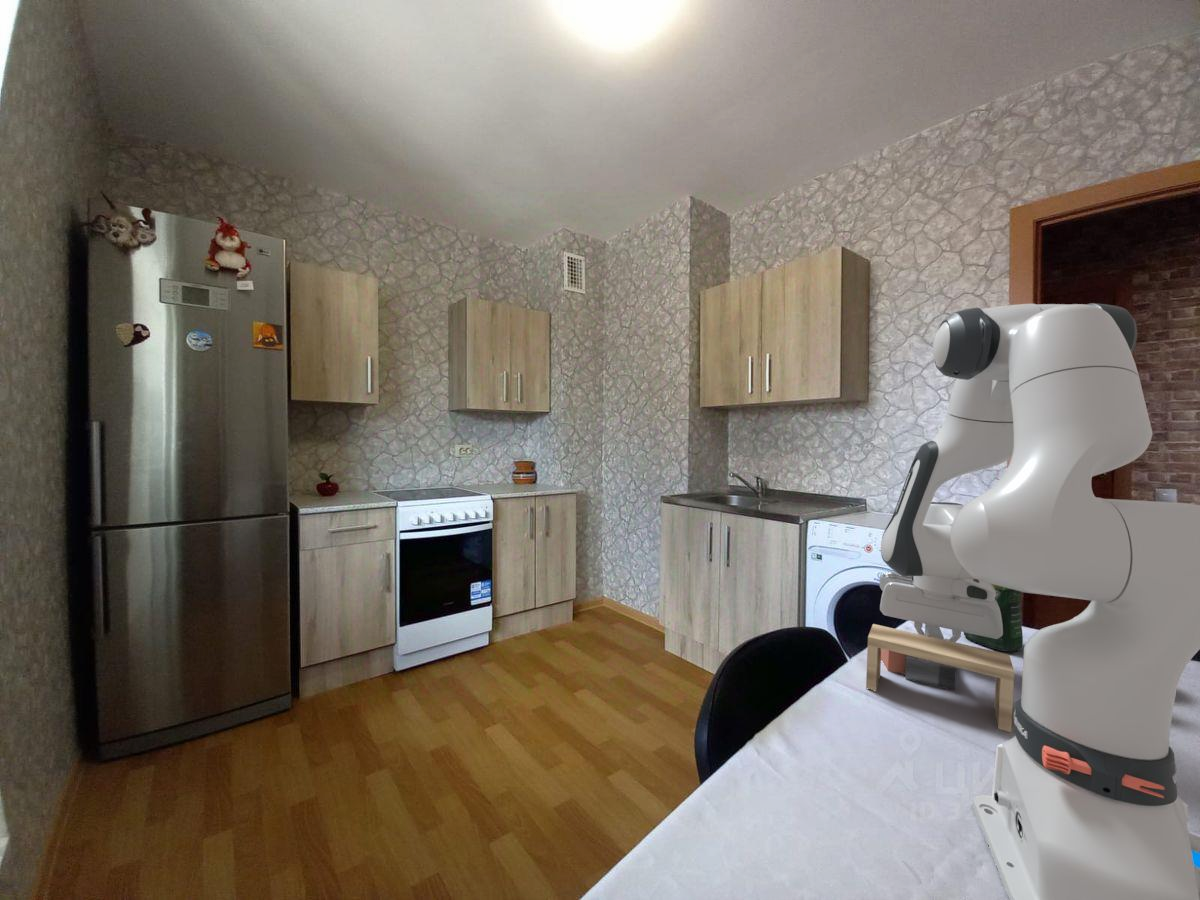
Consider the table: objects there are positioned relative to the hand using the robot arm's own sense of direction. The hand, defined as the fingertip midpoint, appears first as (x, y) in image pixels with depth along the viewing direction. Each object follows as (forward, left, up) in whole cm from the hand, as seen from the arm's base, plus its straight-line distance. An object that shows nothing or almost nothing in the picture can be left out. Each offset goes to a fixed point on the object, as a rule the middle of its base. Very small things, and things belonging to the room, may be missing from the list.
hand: (936, 646), depth 95 cm
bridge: (-19, 0, -2) cm, 20 cm away
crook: (-4, +2, -2) cm, 5 cm away
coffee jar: (+15, -10, -2) cm, 18 cm away
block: (-10, +6, -2) cm, 12 cm away
